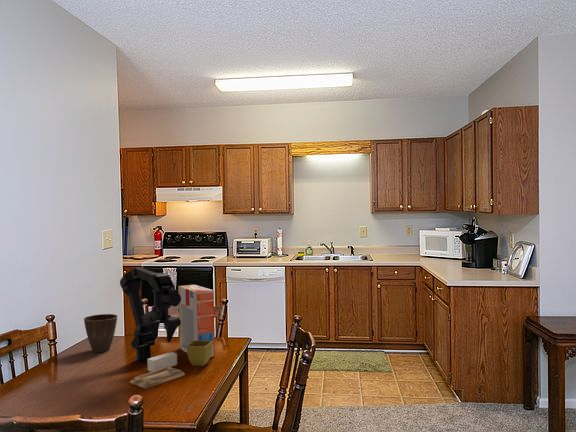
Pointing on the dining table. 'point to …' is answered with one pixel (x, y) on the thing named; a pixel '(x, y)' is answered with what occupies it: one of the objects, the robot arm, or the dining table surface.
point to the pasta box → (196, 315)
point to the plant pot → (100, 331)
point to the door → (162, 361)
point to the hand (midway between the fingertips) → (162, 340)
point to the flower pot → (199, 352)
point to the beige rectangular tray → (156, 377)
